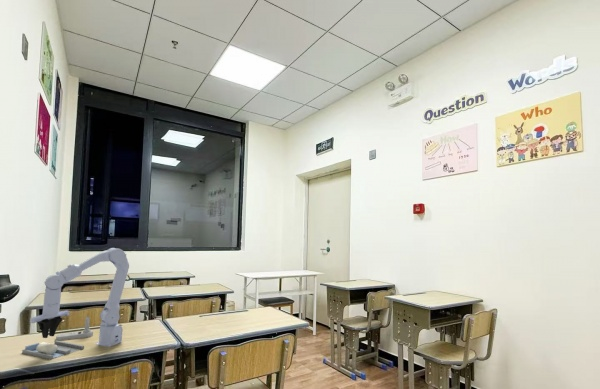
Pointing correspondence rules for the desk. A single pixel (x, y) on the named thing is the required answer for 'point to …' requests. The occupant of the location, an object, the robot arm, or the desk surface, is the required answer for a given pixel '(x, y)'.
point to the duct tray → (61, 350)
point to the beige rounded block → (46, 348)
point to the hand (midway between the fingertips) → (48, 336)
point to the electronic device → (74, 335)
